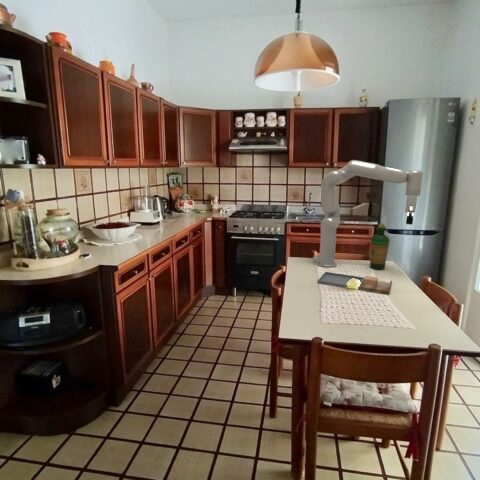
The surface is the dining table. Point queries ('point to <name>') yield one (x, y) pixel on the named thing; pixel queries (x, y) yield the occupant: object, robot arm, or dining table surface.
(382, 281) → the cream tile
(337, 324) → the dining table surface
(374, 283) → the terracotta tile
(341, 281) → the box
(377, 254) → the bottle
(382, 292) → the walnut board
